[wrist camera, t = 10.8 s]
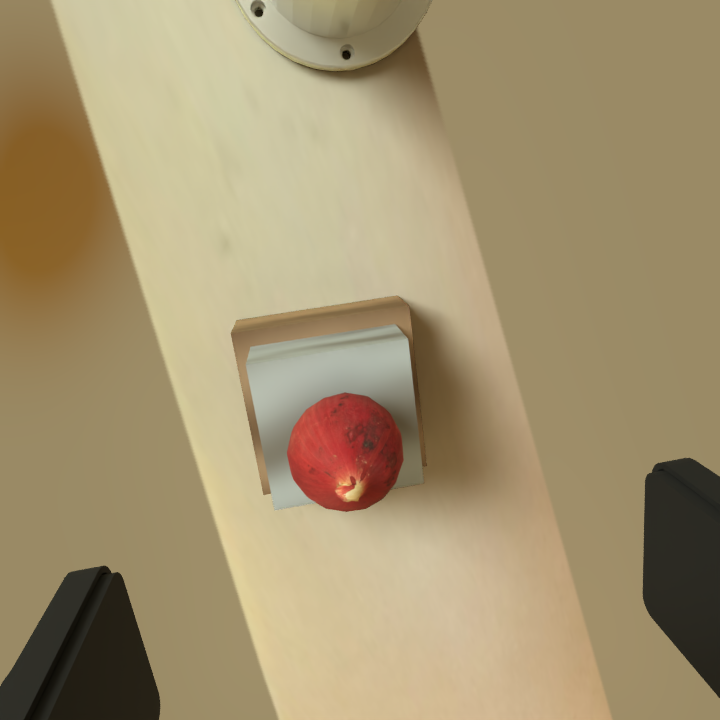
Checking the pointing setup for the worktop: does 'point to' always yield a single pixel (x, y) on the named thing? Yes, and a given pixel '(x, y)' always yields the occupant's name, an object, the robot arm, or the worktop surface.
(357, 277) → the worktop surface
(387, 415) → the onion
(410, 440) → the wood and metal block
